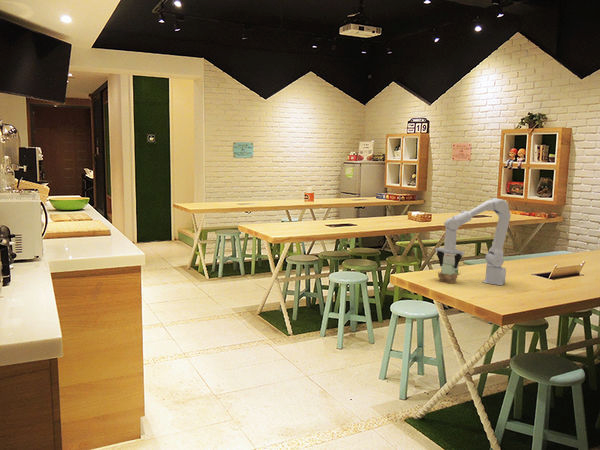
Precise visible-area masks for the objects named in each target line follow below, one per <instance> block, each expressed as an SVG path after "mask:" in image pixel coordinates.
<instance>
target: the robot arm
mask: <svg viewBox="0 0 600 450" xmlns="http://www.w3.org/2000/svg"><path fill="white" fill-rule="evenodd" d="M485 211H492V212H495V214H496V215H497V217H498V220H497V225H496V228H495V233H494V236H493V240H492V245H491V246H490V248H489V249H488V252H487V253H486V254H485V261H486V269H485V279H484V280H483V281H482V283H485V284H488V285H489V284H491V285H496V286H503V285H504V284H506V274H507V268H506V267H503V266H502V265H504V250H503V249H504V248H503V247H504V244H505V242H506V241H505V240H506V236H507V232H508V227H509V223H510V220H511V216H512V215H511V212H510V211H511V210H510V207H509V203H508V202H507V201H506V200H504V199H500V198H497V197H493V198H490V199H488V200H485V201H483V203H481V204H479V205H478V206H475V207H474V208H473V209H470V210H469V211H468V210H461V211H460V212H459V213H458V214H456V215H453V216H452V217H449V218H447V219H445V222H443V225H444V227H445V232H444V244H443V245H444V246H443V247H444V248H443V247H435V253H436V256H437V259H438V261H439V267H441V266H442V264H443V257H444V253H450V254H456V255H455V256H454V257H455V265H454V268H455V269H456V268H457V266H458V263H459V264H460V260H461V259H462V257H463V256H464V255H465V251H463V250H458V249H457V232H458V229H459V227H461V226H463V225H465V224H467V223H468V222H471V220H472V218H473V217H475V216H477V215H479V214H481V213H483V212H485ZM451 252H452V253H451ZM458 267H459V266H458Z"/></svg>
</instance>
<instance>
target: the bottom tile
mask: <svg viewBox="0 0 600 450" xmlns="http://www.w3.org/2000/svg"><path fill="white" fill-rule="evenodd" d="M438 282H439V283H446V284H454V283H456V279H453V280H447V279H442V278H439V281H438Z"/></svg>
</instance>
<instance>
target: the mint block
mask: <svg viewBox="0 0 600 450" xmlns="http://www.w3.org/2000/svg"><path fill="white" fill-rule="evenodd" d="M454 265H455V264H452V263H444V264H442V274H448V275H452V274H454V273H455V268H454Z"/></svg>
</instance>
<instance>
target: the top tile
mask: <svg viewBox="0 0 600 450" xmlns="http://www.w3.org/2000/svg"><path fill="white" fill-rule="evenodd" d="M458 275H459V273H458V274H457V273H454V274H452V275H448V274H442V272H441V271H440V272H438V274H437V278H439V279H440V278H442V279H447V280H453V279H458Z"/></svg>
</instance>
